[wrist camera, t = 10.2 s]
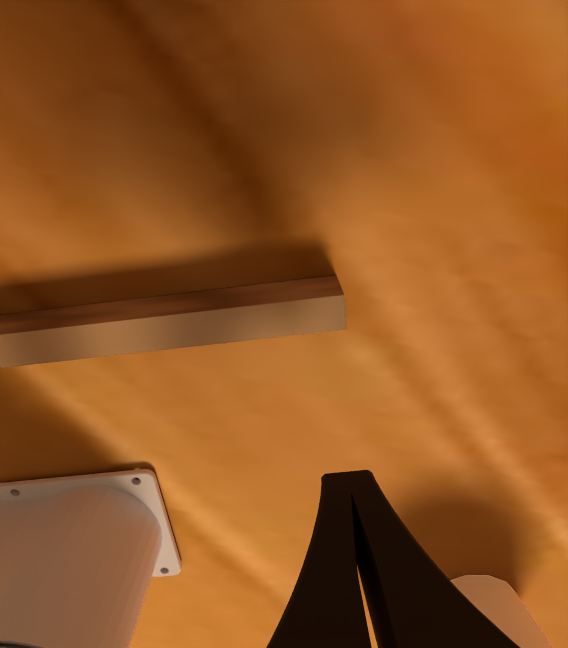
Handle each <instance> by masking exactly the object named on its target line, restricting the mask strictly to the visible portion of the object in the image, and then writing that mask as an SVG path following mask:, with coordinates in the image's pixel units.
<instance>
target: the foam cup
mask: <svg viewBox="0 0 568 648" xmlns="http://www.w3.org/2000/svg"><path fill="white" fill-rule="evenodd" d="M450 581H451V582H452V583H453V584H454V585H455V586H456V587H457V588H458V590H459V591H460V592H461V593H462V594H463V595H464V596H465V597H466V598H467V599H468V600H469V601H470V602H471V603H472V604H473V605H474V606H475V607H476V608H477V609H478V610H479V611H481V612H482V613H483V614H484V615H485V616H486V617H487V618H488V619H489V620H490V621H491V622H493V623H494V624H495V625H496V626H497V627H498V628H499V629H500V630H501V631H502V632H503V633H504V634H506V635H507V636H508V637H509V638H510V639H511V640H512V641H513V642H514V643H516V644H517V645H518V646H519V647H520V648H554V646H553V645H552V643H551V642H550V640H549V639H548V637H547V636H546V635H545V633H544V632H543V630H542V629H541V627H540V626H539V624H538V623H537V621H536V620H535V618H534V617H533V616H532V614H531V613H530V611H529V610H528V608H527V607H526V605H525V604H524V602H523V601H522V600H521V599H520V598H519V596H518V594H517V593H516V592H515V591H514V589H513V588H512V587H511V586H510V585H509V584H508V583H507V582H506V581H504V580H501V579H498V578H495V577H493V576H490V575H464V576H461V577H458V578H455V579H452V580H450Z"/></svg>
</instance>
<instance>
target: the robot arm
mask: <svg viewBox="0 0 568 648" xmlns="http://www.w3.org/2000/svg"><path fill="white" fill-rule="evenodd" d="M135 478H139V479H140V480H137V479H135ZM321 482H322V485H321V496H320V503H319V508H318V514H317V518H316V522H315V526H314V530H313V534H312V538H311V541H310V545H309V548H308V551H307V554H306V557H305V560H304V563H303V566H302V569H301V572H300V575H299V577H298V580H297V583H296V585H295V588H294V590H293V593H292V595H291V597H290V600H289V602H288V604H287V607H286V609H285V611H284V613H283V615H282V617H281V620H280V622H279V624H278V626H277V628H276V630H275V632H274V634H273V636H272V638H271V640H270V642H269V644H268V646H267V647H266V648H372V647H371V642H370V637H369V632H368V627H367V621H366V616H365V611H364V606H363V600H362V595H361V590H360V584H359V579H358V571H357V566H358V570H359V574H360V578H361V582H362V586H363V590H364V594H365V598H366V602H367V606H368V610H369V614H370V617H371V621H372V625H373V629H374V633H375V637H376V641H377V645H378V648H520V647H519V646H518V645H517V644H516V643H514V642H513V641H512V640H511V639H510V638H509V637H508V636H507V635H506V634H504V633H503V632H502V631H501V630H500V629H499V628H498V627H497V626H496V625H495V624H494V623H493V622H491V621H490V620H489V619H488V618H487V617H486V616H485V615H484V614H483V613H482V612H481V611H479V610H478V609H477V608H476V607H475V606H474V605H473V604H472V603H471V602H470V601H469V600H468V599H467V598H466V597H465V596H464V595H463V594H462V593H461V592H460V591H459V590H458V588H457V587H456V586H455V585H454V584H453V583H452V582H451V581H450V580H449V579H448V578H447V577H446V576H445V574H444V573H443V572H442V571H441V570H440V569H439V568H438V567H437V565H436V564H435V563H434V562H433V561H432V560H431V558H430V557H429V556H428V555H427V554H426V552H425V551H424V550H423V549H422V547H421V546H420V545H419V544H418V542H417V541H416V540H415V539H414V537H413V536H412V535H411V533H410V532H409V531H408V529H407V528H406V526H405V525H404V524H403V522H402V521H401V520H400V518H399V517H398V515H397V514H396V513H395V511H394V510H393V508H392V507H391V505H390V503H389V502H388V500H387V499H386V497H385V496H384V494H383V492H382V491H381V489H380V487H379V485H378V484H377V482H376V480H375V478H374V476H373V474H372V472H370V471H369V470H360V471H350V472H339V473H329V474H324V475H323V476H322V477H321ZM17 490H18V491H17ZM181 568H182V563H181V560H180V557H179V553H178V550H177V546H176V543H175V540H174V536H173V533H172V530H171V526H170V523H169V519H168V516H167V513H166V509H165V506H164V503H163V499H162V496H161V492H160V489H159V486H158V482H157V479H156V476H155V474H154V472H153V471H151V470H149V469H139V470H129V471H118V472H108V473H98V474H88V475H77V476H67V477H57V478H46V479H36V480H26V481H15V482H5V483H0V648H129V646H130V643H131V640H132V637H133V634H134V631H135V627H136V624H137V621H138V618H139V615H140V612H141V609H142V606H143V602H144V599H145V596H146V593H147V590H148V587H149V584H150V580H151V577H158V576H170V575H177V574H179V573H180V571H181Z"/></svg>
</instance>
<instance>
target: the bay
mask: <svg viewBox="0 0 568 648" xmlns="http://www.w3.org/2000/svg"><path fill="white" fill-rule="evenodd" d="M346 329H347V325H346V312H345V299H344V293H343V291H342V288H341V286H340V283H339V281H338V278H337V276H336V275H333V276H324V277H316V278H307V279H299V280H290V281H282V282H274V283H265V284H257V285H248V286H240V287H231V288H223V289H214V290H206V291H197V292H189V293H180V294H172V295H164V296H155V297H147V298H138V299H130V300H121V301H113V302H104V303H96V304H87V305H79V306H70V307H62V308H54V309H45V310H37V311H28V312H20V313H11V314H3V315H0V368H5V367H14V366H23V365H32V364H40V363H49V362H58V361H67V360H76V359H85V358H94V357H103V356H112V355H121V354H130V353H139V352H148V351H157V350H166V349H175V348H184V347H193V346H202V345H211V344H220V343H229V342H238V341H247V340H256V339H265V338H274V337H283V336H292V335H301V334H310V333H319V332H328V331H337V330H346Z"/></svg>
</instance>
